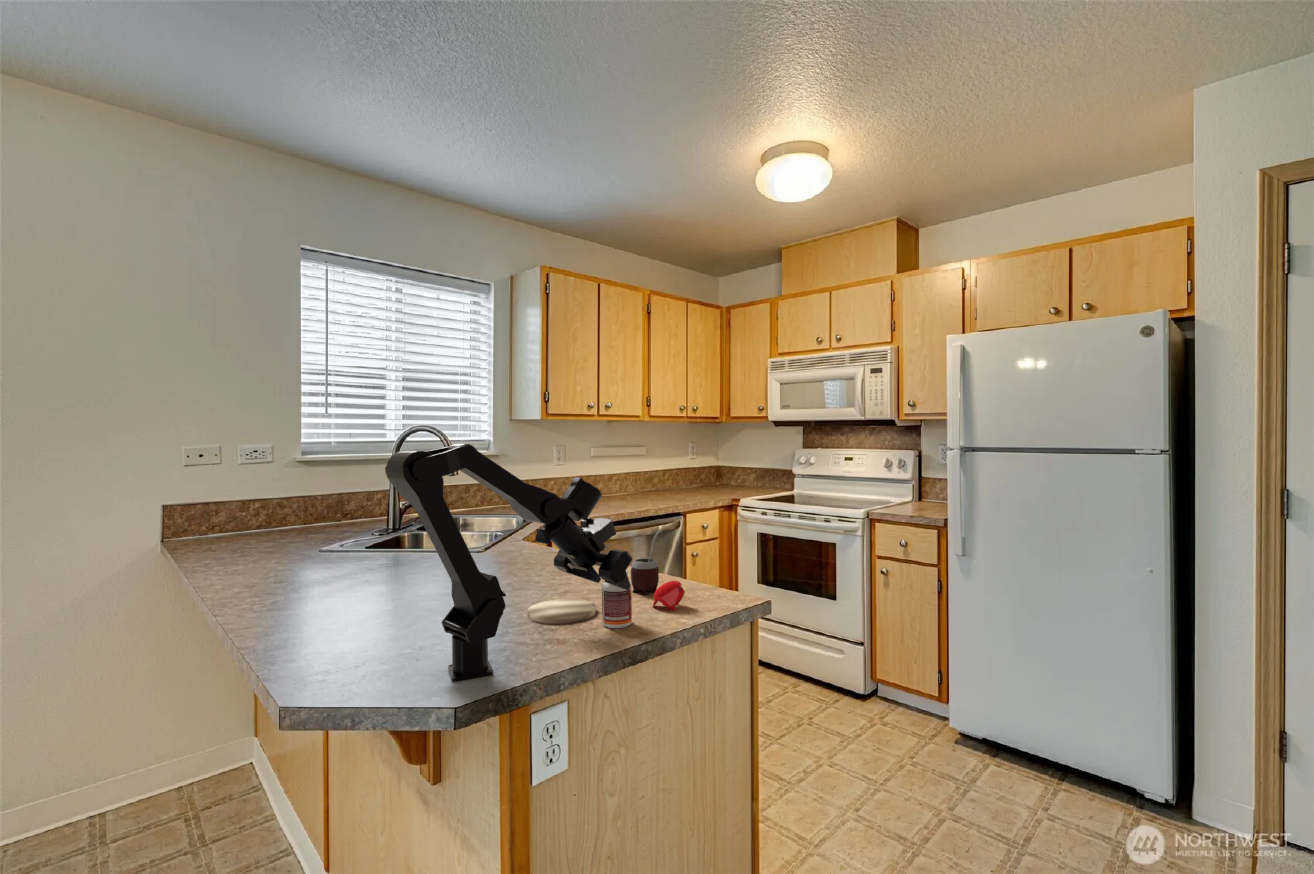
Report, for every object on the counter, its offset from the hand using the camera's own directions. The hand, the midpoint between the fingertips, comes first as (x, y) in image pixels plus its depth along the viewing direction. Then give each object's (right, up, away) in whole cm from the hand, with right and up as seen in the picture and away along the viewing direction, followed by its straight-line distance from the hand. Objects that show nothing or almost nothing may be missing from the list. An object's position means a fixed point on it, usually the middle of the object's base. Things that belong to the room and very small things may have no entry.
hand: (613, 584), depth 122 cm
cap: (+12, -9, +12) cm, 19 cm away
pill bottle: (+1, -9, 0) cm, 9 cm away
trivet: (-12, -9, +9) cm, 17 cm away
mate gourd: (+6, -9, +26) cm, 28 cm away
